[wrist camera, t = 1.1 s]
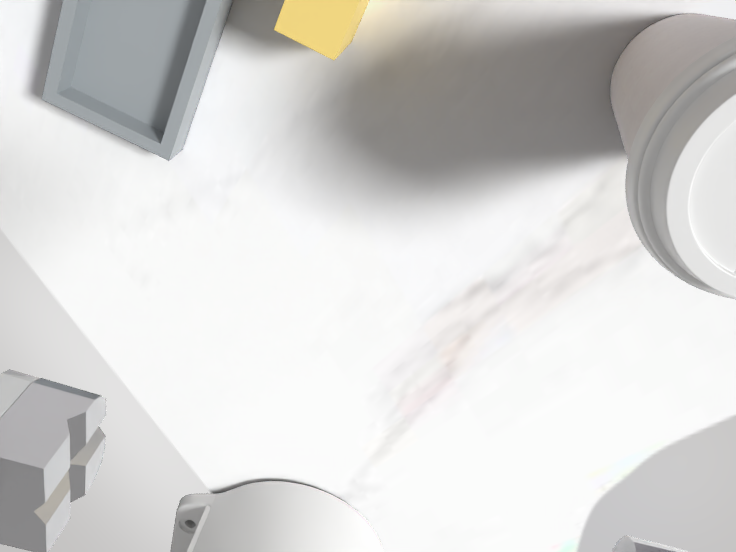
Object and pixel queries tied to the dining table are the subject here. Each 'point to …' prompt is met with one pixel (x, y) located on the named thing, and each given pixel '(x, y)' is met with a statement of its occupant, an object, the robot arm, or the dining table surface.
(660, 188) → the coffee cup
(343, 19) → the yellow rectangular block
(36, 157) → the dining table surface
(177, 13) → the tray
